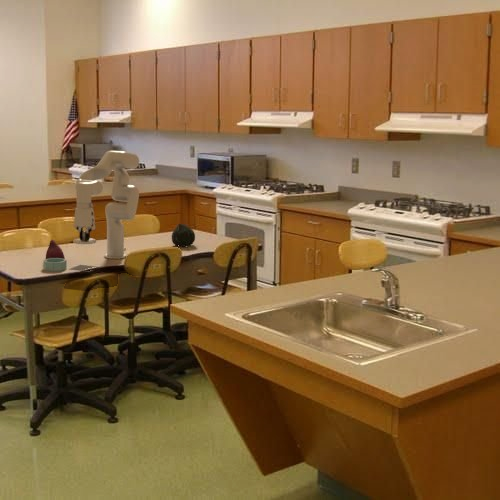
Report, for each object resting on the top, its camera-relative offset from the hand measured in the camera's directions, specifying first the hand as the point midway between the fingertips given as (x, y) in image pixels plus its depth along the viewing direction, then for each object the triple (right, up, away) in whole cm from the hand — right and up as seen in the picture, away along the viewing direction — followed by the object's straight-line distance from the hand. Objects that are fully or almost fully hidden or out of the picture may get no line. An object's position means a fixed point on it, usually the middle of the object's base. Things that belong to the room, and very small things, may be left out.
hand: (84, 239), depth 387 cm
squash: (+46, -3, +73) cm, 86 cm away
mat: (-1, -16, +3) cm, 16 cm away
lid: (0, -1, 0) cm, 1 cm away
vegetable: (-20, -13, +15) cm, 28 cm away
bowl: (-15, -16, -1) cm, 22 cm away
